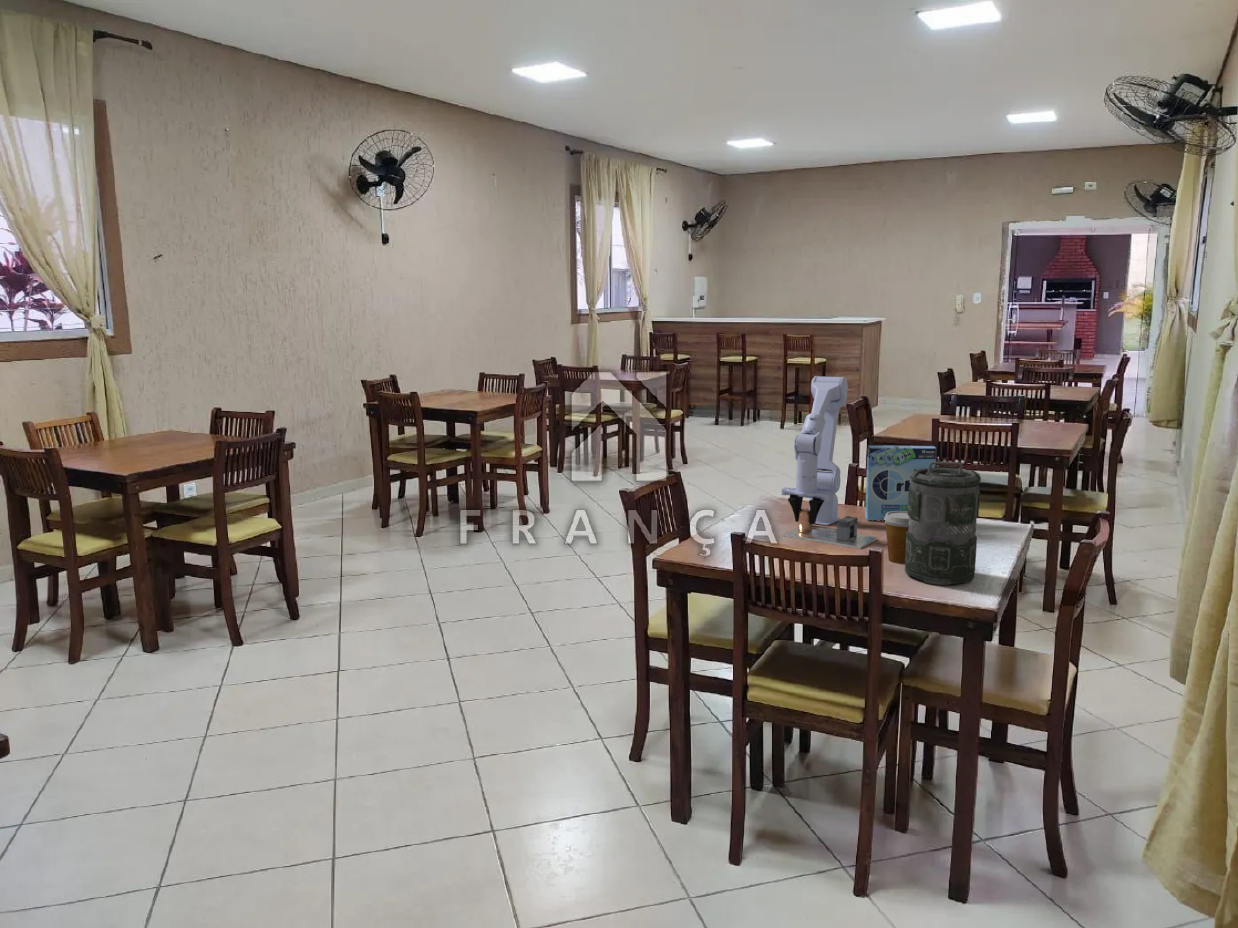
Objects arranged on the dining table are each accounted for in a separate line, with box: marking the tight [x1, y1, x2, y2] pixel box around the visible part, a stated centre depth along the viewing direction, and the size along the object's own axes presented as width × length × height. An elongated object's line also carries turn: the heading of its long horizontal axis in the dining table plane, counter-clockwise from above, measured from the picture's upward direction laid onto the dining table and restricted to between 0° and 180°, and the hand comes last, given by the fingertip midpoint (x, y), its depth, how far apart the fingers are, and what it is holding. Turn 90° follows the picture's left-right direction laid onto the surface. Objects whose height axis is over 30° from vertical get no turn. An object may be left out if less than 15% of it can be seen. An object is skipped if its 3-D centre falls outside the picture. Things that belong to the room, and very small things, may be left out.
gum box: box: [864, 444, 937, 522], centre depth 259 cm, size 19×5×23 cm, turn 82°
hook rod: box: [797, 508, 837, 533], centre depth 242 cm, size 15×4×6 cm, turn 52°
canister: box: [904, 461, 982, 586], centre depth 203 cm, size 16×16×28 cm
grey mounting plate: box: [782, 515, 878, 550], centre depth 241 cm, size 12×23×6 cm, turn 52°
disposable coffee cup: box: [884, 511, 909, 565], centre depth 218 cm, size 10×10×12 cm
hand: (805, 522), depth 245 cm, fingers closed on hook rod, 4 cm apart
